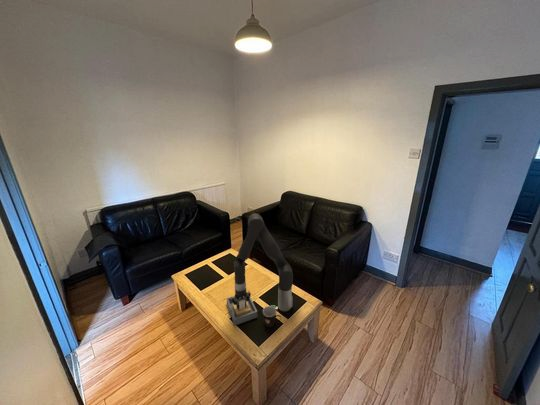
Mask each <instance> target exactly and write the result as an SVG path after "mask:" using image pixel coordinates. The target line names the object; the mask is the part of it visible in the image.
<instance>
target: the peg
mask: <svg viewBox="0 0 540 405" xmlns="http://www.w3.org/2000/svg"><path fill="white" fill-rule="evenodd" d="M243 309H245V300H244V299H242V300H240V302H239V311H240V310H243Z"/></svg>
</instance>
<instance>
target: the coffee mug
mask: <svg viewBox="0 0 540 405" xmlns="http://www.w3.org/2000/svg"><path fill="white" fill-rule="evenodd" d="M262 316H263V321H264V326H265V327H266V328H273V327H274V326H275V323H276V322H281V321H282V316H281V315H279V314H277V310H276V307H274V306H272V305H269V306H265V307H264V308H263V309H262ZM277 317H279V318H280V319H278V320H276V318H277Z"/></svg>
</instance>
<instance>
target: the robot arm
mask: <svg viewBox="0 0 540 405" xmlns="http://www.w3.org/2000/svg"><path fill="white" fill-rule="evenodd" d="M247 225H248V227H247V232H246V236H245V239H244V240H243V242H242V243H241V245H240V247H239V251H238V253H237V255H236V257H235V258H234V262H233V273H234V295H233V296H234V297H233V296H230V297H231V299H232V301H233V303H234V305H236V306H237V308H238V309H239V302H240V300H242V299H244V300H245V306H246V305H247V304H246V302H247V301H249V299H250V297H251V295H252V293H251V292H250V291H247V282H246V264H245V263H246V261H247V260H248V259H249V257H250V255H251V251H252V250H253V246H254V244H255V241H256V240H257V238H258V240H259V242H260V245H261V247H262V249H263V251H264V252H265V253H264V254H266V255H267V257H268V258H269V259H270V260H272V261H273V262H274V264H275V266H276V269H277V271H278V286H277V288H278V290H277V292H278V293H277V294H278V295H277V306H278V307H277V308H278V309H279V310H280V311H281V312H288V311H290V310H291V308H293V298H294V297H293V295H292V292H293V290H292V286H293V284H294V283H293V282H294V273H293V269H292V267H291V264H290V263H289V262H288V261H287V260H286V258H285V257H284V255H283V252H282V250H281V249H280V247H279V245H278V243H277V242H276V239H274V237H273V236H272V234H271V233H270V231H269V229H268V228H267V226H266V224H265V221H264V219H263V217H262V216H261V214H259V213H255V212H254V213H251V214H250V215H249V217H248V219H247ZM246 295H247V297H246ZM245 297H246V299H245ZM235 298H236V302H235Z"/></svg>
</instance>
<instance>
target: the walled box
mask: <svg viewBox="0 0 540 405" xmlns="http://www.w3.org/2000/svg"><path fill="white" fill-rule="evenodd" d="M234 296H235V295H233V296H230V297H227V298H226V304H227V307H228V311H229V314H230V317H231V320H232V323H233V326H238V325H240V324H242V323H245V322H249V321H251V320H253V319H257V318H258V317H259V316H258V315H259V314H258V310H257V308H256V305H255V303H254V301H253V300H252V298H251V296H250V299H249V301H247V302H246V304H247V305H246V306H245V309H243V310H240V311H239V309H238V308H237V306H236V305H234V303H233V301H232V299H231V297H234ZM246 297H247V295H246ZM246 297H245V299H246ZM235 302H236V298H235Z"/></svg>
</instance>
